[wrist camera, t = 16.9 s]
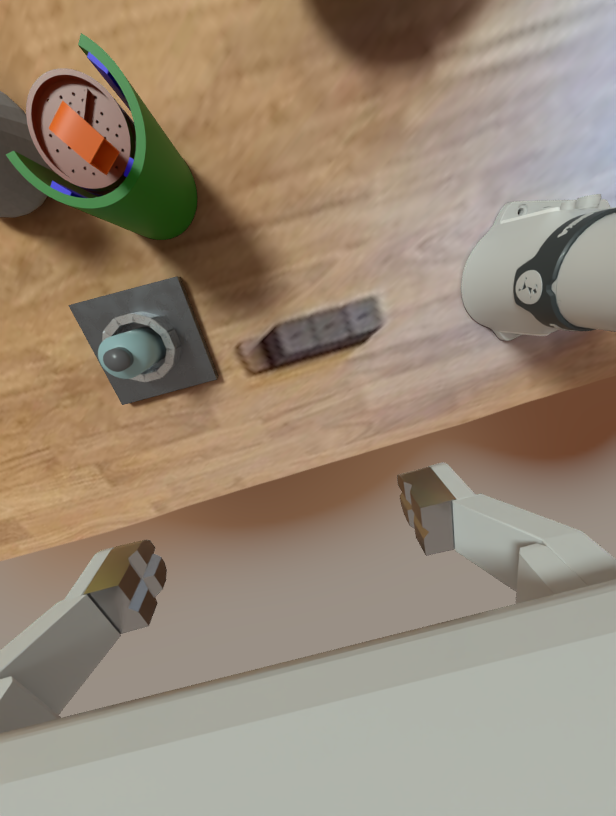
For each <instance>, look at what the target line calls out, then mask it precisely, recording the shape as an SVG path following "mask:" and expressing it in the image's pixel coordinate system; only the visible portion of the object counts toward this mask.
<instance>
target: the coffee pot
mask: <svg viewBox="0 0 616 816" xmlns="http://www.w3.org/2000/svg"><path fill="white" fill-rule="evenodd" d="M12 151H16V152H18V153H19V154H21V155H23V156H25V157H27V158H29V159H31V160H33V161H34V162H36V163H38V164H40V165H42V166H44V167H46V168H48V169H49V170H51V171H52V169H51V168H50V167H49V165H48V164H47V163H46V162H45V161H44V159H43V158H42V157H41V155H40V154H39V152H38V150H37V149H36V147H35V145H34V143H33V140H32V138H31V135H30V132H29V129H28V124H27V117H26V114H25V112H24V111H23V110H22V109H21V108H20V107H19V106H18V105H17V104H15V103H14V102H13V101H12V100H11V99H10V98H9V97H8V96H7V95H6V94H4V93H3V92H1V91H0V217H19V216H22V215H26V214H29V213H31V212H32V211H34V210H35V209H37V208H38V207H39V206H41V205H42V204H43V202H44V201H45V199H46V198H47V195H46V194H44V193H43V192H41V191H40V190H38V189H37V188H36V187H34V186H33V185H32V184H31V183H30V182H29V181H27V180H26V179H25V178H24V177H23V176H22V175H21V174H20V172H19V171H18V170H17V169H16V168H15V167H14V165H13V164H12V163H11V161H10V160H9V159H8V157H7V156H6V154H8V153H10V152H12Z"/></svg>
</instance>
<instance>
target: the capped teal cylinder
mask: <svg viewBox="0 0 616 816" xmlns="http://www.w3.org/2000/svg"><path fill="white" fill-rule="evenodd" d="M166 350H167V349H166V347H165V344H164V342H163V340H162V338H161V336H160V335H159V334H158V333H157V332H156V331H154V330H153V329H152V328H150V327H141V328H138V329H134V330H131V331H128V332H124V333H121V334H118V335H114V336H111V337H108V338H106V339H105V340H103V342H102V343H101V344H100V346H99V349H98V358H99V361H100V363H101V365H102V367H103V368H104V369H105V370H106V371H107V372H108V373H110V374H111V375H113V376H115V377H118V378H122V379H130V378H134V377H136V376H138V375H139V374H141V373H142V372H144V371H145V370H147V369H148V368H150V367H151V366H153V365H154V364H156V363H157V362H159V361H160V360H162V359H163V358H164V357H165V355H166Z"/></svg>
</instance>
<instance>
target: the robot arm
mask: <svg viewBox="0 0 616 816" xmlns="http://www.w3.org/2000/svg"><path fill="white" fill-rule="evenodd" d="M518 210H519V211H520V213H519V215H518ZM461 292H462V299H463V303H464V306H465V308H466V310H467V312H468V313H469V315H470V316H471V317H472V318H473V319H474V320H475V321H476V322H478V323H479V324H481V325H484V326H486V327H489V328H490V329H492V330H493V331H494V333H495V334H496V336H497V337H498V338H499V339H501V340H505V341H509V340H512V339H514V338H517V337H519V336H521V335H523V334H524V335H534V336H548V335H549V334H550V333H552V332H555V331H557V330H559V329H560V330H566V331H591V330H596V329H599V330H606V331H614V332H616V207H614V208H610V205H609V203H608V201H607V200H605V199H601V194H597V195H590V196H585V197H581V198H578V199H577V200H552V201H516V202H510V203H507V204H506V205H504V206H503V208H502V209H501V211H500V212H499V214H498V216H497V218H496V220H495V222H494V224H493V226H492V228H491V229H490V230H489V231H488V233H487V234H486V235H485V236H484V237H483V238H482V239H481V240H480V241H479V242H478V244H477V245H476V246H475V248H474V249H473V251H472V252H471V254H470V256H469V258H468V260H467V262H466V265H465V268H464V272H463V276H462V284H461ZM397 481H398V486H399V488H400V489H401V491H402V493H401V495H400V501H401V506H402V509H403V512H404V515H405V517H406V520H407V521H408V523H409V525H410V526H411V527H413V528H414V529H415V534H416V538H417V540H418V542H419V544H420V546H421V548H422V549H423V551H424V553H425V555H426V556H427V555H431V554H436V553H440V552H445V551H449V550H454V549H455V551H456V552H458V553H459V554H461V555H463V556H464V557H465V558H467V559H468V560H470V561H471V562H473V563H474V564H476V565H477V566H479V567H480V568H482V569H483V570H485V571H486V572H488V573H489V574H491V575H492V576H493V577H495V578H496V579H498V580H499V581H501V582H502V583H504V584H505V585H507V586H508V587H510V588H511V589H513V590H515V591H516V592H517V593H516V604H514V605H510V606H506V607H502V608H498V609H494V610H490V611H486V612H482V613H478V614H474V615H470V616H466V617H462V618H458V619H454V620H450V621H446V622H442V623H438V624H434V625H430V626H426V627H422V628H418V629H414V630H410V631H406V632H402V633H398V634H394V635H390V636H386V637H382V638H378V639H374V640H370V641H366V642H362V643H358V644H355V645H350V646H346V647H342V648H338V649H335V650H331V651H327V652H323V653H319V654H315V655H311V656H307V657H303V658H299V659H295V660H291V661H287V662H283V663H279V664H275V665H271V666H267V667H263V668H259V669H255V670H251V671H247V672H243V673H239V674H235V675H231V676H227V677H223V678H219V679H215V680H211V681H207V682H203V683H199V684H195V685H191V686H187V687H183V688H179V689H175V690H171V691H167V692H163V693H159V694H155V695H151V696H147V697H143V698H139V699H135V700H131V701H127V702H123V703H119V704H115V705H111V706H107V707H103V708H99V709H95V710H91V711H87V712H83V713H79V714H75V715H71V716H67V717H63V718H61V717H60V716H59V714H60V713H61V711H62V710H63V708H64V707H65V706H66V705H67V704H68V702H69V701H70V700H71V699H72V697H73V696H74V695H75V693H76V692H77V691H78V689H79V688H80V687H81V686H82V684H83V683H84V682H85V681H86V679H87V678H88V677H89V676H90V674H91V673H92V672H93V671H94V669H95V668H96V667H97V665H98V664H99V663H100V661H101V660H102V659H103V658H104V657H105V655H106V654H107V653H108V651H109V650H110V649H111V648H112V646H113V645H114V644H115V642H116V641H117V640H118V639H119V637H120V636H121V635H120V634H122V633H126V632H129V631H133V630H136V629H140V628H143V627H147V626H149V624H150V622H151V619H152V616H153V614H154V611H155V608H156V606H157V600H156V598H155V597H156V596H157V595H158V594H159V593H160V591H161V590H162V589H163V587H164V584H165V582H166V572H167V569H166V566H165V562H164V561H163V559H162V558H161V557H160V556H158V555H156V554H154V551H155V546H154V545H153V544H152V542H151V541H150V540H142V541H138V542H133V543H129V544H125V545H120V546H116V547H113V548H109V549H105V550H101V551H99V552H98V553H96V554H95V555H94V557H93V558H92V560H91V562H90V563H89V564H88V566H87V567H86V569H85V570H84V571H83V573H82V574H81V576H80V577H79V579H78V580H77V582H76V583H75V585H74V586H73V588H72V589H71V590H70V592H69V593H68V595H67V596H66V598H65V599H64V600H63V601H59V602H58V603H56V604H55V605H54V606H53V607H52V608H50V609H49V610H48V611H47V612H46V613H44V614H43V615H42V616H41V617H40V618H39V619H37V620H36V621H35V622H34V623H32V624H31V625H30V626H29V627H28V628H26V629H25V630H24V631H23V632H22V633H21V634H19V635H18V636H17V637H16V638H15V639H13V640H12V641H11V642H10V643H9V644H7V645H6V646H5V647H4V648H3V649H1V650H0V816H616V559H615V558H614V557H612V556H611V555H610V554H609V553H608V552H607V551H605V550H604V549H603V548H602V547H600V546H599V545H598V544H597V543H596V542H594V541H593V540H592V539H591V538H590V537H588V536H587V535H586V534H585V533H584V532H582V531H580V530H578V529H575V528H572V527H570V526H567V525H564V524H562V523H559V522H556V521H554V520H551V519H548V518H546V517H543V516H540V515H537V514H535V513H532V512H529V511H527V510H524V509H521V508H519V507H516V506H513V505H511V504H508V503H505V502H502V501H500V500H497V499H494V498H492V497H489V496H486V495H483V494H477V495H476V494H475V493H474V492H473V491H472V490H471V489H470V488H469V487H468V485H467V484H466V483H465V482H464V481H463V480H462V479H461V478H460V477H459V476H458V475H457V474H456V473H455V472H454V471H453V470H452V468H451V467H450V466H449V465H448V464H447V463H445V462H442V463H438V464H435V465H431V466H428V467H426V468H422V469H418V470H414V471H410V472H407V473H403V474H399V475H397Z"/></svg>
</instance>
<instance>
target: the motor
mask: <svg viewBox="0 0 616 816" xmlns="http://www.w3.org/2000/svg"><path fill="white" fill-rule="evenodd" d="M78 45H79V47H80V48H81V49H82V50H83V52H84V53H85V54H86V55H87V57H88V59H89V60H90V61H91V62H92V64H93V65H94V66H95V67H96V69H97V70H98V71H99V72H100V74H101V75H102V76H103V77H104V79H105V80H106V81H107V82H108V84H109V85H110V86H111V87H112V88H113V90H114V91H115V92H116V93H117V95H118V96H119V97H120V98H121V100H122V101H123V102H124V103H125V105H126V106H127V107H128V108H129V110H130V111H131V113H132V116H133V120H134V122H133V121H132V119H131V118H130V117H129V116H128V115H127V113H126V112H125V111H124V110H123V109H122V108H121V106H120V105H119V104H118V103H117V102H116V100H115V99H114V98H113V97H112V96H111V94H110V93H109V92H108V91H107V90H106V89H105V88H104V87H103V86H102V85H101V84H100V83H98V82H97V81H96V80H94V79H93V78H91V77H90V76H88V75H86V74H84V73H82V72H79V71H76V70H72V69H54V70H51V71H48V72H46V73H44V74H43V75H41V76H40V77H39V78H38V79H37V80H36V81H35V83H34V84H33V86H32V87H31V90H30V92H29V95H28V99H27V105H26V117H27V124H28V129H29V132H30V135H31V138H32V140H33V143H34V145H35V147H36V149H37V150H38V152H39V154H40V155H41V157H42V158H43V159H44V161H45V162H46V163H47V164H48V165H49V167H50V168H51V169H52V170H53V171H54V172H53V171H51V170H49V169H48V168H46V167H44V166H42V165H40V164H38V163H36V162H34V161H33V160H31V159H29V158H27V157H25V156H23V155H21V154H19V153H18V152H16V151H12V152H10V153H8V154H6V156H7V157H8V159H9V160H10V161H11V163H12V164H13V165H14V167H15V168H16V169H17V170H18V171H19V172H20V174H21V175H22V176H23V177H24V178H25V179H26V180H27V181H29V182H30V183H31V184H32V185H33V186H34V187H36V188H37V189H38V190H40V191H41V192H43V193H44V194H46V195H47V196H49V197H51V198H53V199H55V200H57V201H59V202H61V203H64V204H66V205H69V206H71V207H74V208H76V209H78V210H81V211H83V212H86V213H88V214H91V215H93V216H96V217H98V218H100V219H103V220H105V221H108V222H110V223H113V224H115V225H118V226H120V227H122V228H125V229H127V230H130V231H132V232H135V233H137V234H140V235H142V236H145V237H147V238H151V239H156V240H166V239H171V238H174V237H176V236H178V235H180V234H181V233H183V232H184V231H185V230H186V229H187V228H188V227H189V225H190V224H191V222H192V220H193V218H194V215H195V212H196V208H197V190H196V185H195V181H194V178H193V176H192V173H191V171H190V169H189V167H188V166H187V164H186V163H185V161H184V160H183V158H182V157H181V155H180V154H179V153H178V151H177V150H176V148H175V147H174V146H173V144H172V143H171V141H170V140H169V138H168V137H167V136H166V134H165V133H164V131H163V130H162V128H161V127H160V126H159V124H158V123H157V121H156V120H155V118H154V117H153V116H152V114H151V113H150V111H149V110H148V108H147V107H146V106H145V104H144V103H143V101H142V100H141V98H140V97H139V96H138V94H137V93H136V91H135V90H134V88H133V87H132V86H131V84H130V83H129V81H128V80H127V78H126V77H125V76H124V74H123V73H122V71H121V70H120V69H119V67H118V66H117V65H116V63H115V62H114V61H113V60H112V59H111V58H110V56H109V55H108V54H107V53H106V52H105V51H104V50H103V49H102V48H100V47H99V46H98V45H97V44H96V43H95V42H93V41H92V40H91V39H89V38H88V37H86V36H85V35H83V34H82V33H81V35H80V40H79V44H78ZM48 100H49V102H48ZM55 172H56V173H55Z"/></svg>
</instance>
